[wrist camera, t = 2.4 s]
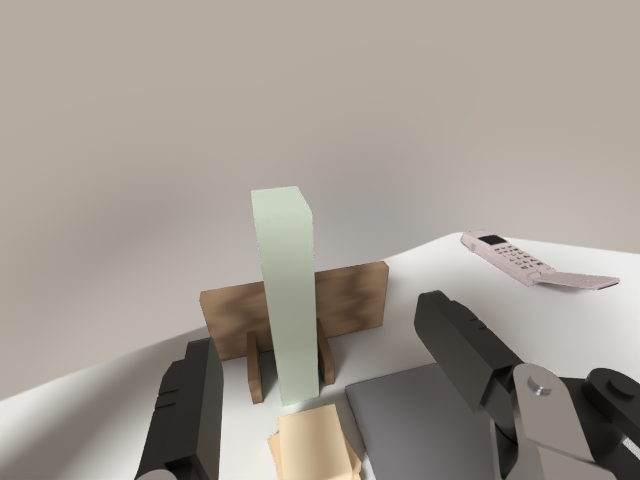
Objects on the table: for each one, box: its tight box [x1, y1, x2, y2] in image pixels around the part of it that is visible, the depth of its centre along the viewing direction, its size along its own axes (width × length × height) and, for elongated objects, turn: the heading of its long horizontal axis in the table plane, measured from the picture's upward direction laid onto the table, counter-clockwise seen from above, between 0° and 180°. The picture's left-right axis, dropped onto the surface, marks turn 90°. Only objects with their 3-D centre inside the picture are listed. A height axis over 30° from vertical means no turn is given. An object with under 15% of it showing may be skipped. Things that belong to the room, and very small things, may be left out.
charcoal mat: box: [345, 363, 495, 480], centre depth 26 cm, size 14×14×1 cm
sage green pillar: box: [251, 186, 319, 406], centre depth 27 cm, size 4×6×22 cm, turn 14°
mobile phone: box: [461, 230, 620, 290], centre depth 49 cm, size 6×6×25 cm
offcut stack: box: [268, 404, 361, 480], centre depth 24 cm, size 7×7×4 cm
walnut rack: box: [199, 261, 389, 404], centre depth 32 cm, size 22×8×10 cm, turn 104°
